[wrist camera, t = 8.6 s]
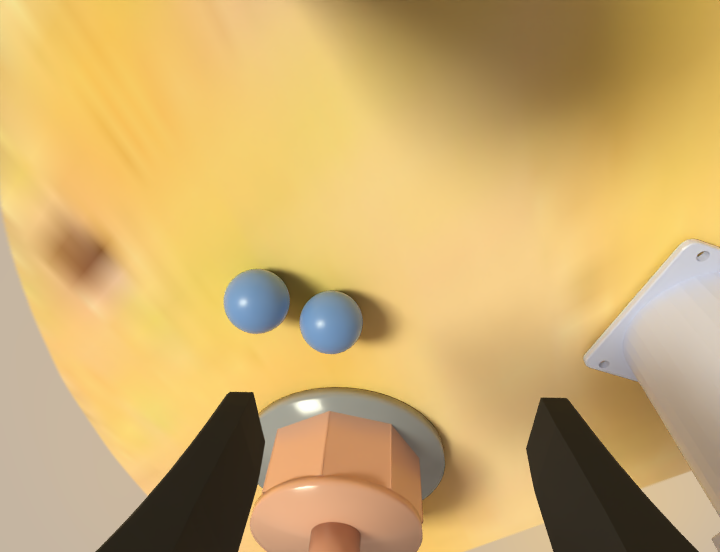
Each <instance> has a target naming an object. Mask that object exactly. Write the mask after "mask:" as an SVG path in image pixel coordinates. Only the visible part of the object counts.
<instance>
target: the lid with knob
mask: <svg viewBox="0 0 720 552" xmlns="http://www.w3.org/2000/svg"><path fill="white" fill-rule="evenodd" d="M422 523H423V510H422V494H421V478H420V462H419V457H418V456H417V455H416V454H415V452H414V451H413V450H412V449H411V448H410V446H409V445H408V444H407V443H406V442H405V440H404V439H403V438H402V437H401V435H400V434H399V433H398V432H397V431H396V429H395V428H394V427H393V426H392V424H389V423H384V422H380V421H375V420H370V419H365V418H361V417H356V416H351V415H346V414H342V413H337V412H332V411H328V412H325V413H322V414H319V415H316V416H314V417H311V418H308V419H305V420H302V421H299V422H296V423H294V424H291V425H288V426H285V427H282V428H279V429H277V433H276V437H275V442H274V446H273V450H272V454H271V458H270V463H269V465H268V469H267V474H266V478H265V482H264V486H263V490H262V494H261V496H260V497H259V498H258V500H257V501H256V503H255V505H254V508H253V511H252V515H251V520H250V529H251V532H252V535H253V537H254V538H255V540H256V541H257V543H258V544H259V545H260V546H261V547H262V548H263V549H265V550H266V551H267V552H417V550H418V549H419V547H420V545H421V542H422Z"/></svg>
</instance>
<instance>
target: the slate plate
mask: <svg viewBox="0 0 720 552" xmlns="http://www.w3.org/2000/svg"><path fill="white" fill-rule="evenodd" d="M328 411H332V412H337V413H342V414H346V415H351V416H356V417H361V418H365V419H370V420H375V421H380V422H384V423H389V424H392V426H393V427H394V428H395V429H396V431H397V432H398V433H399V434H400V435H401V437H402V438H403V439H404V440H405V442H406V443H407V444H408V445H409V446H410V448H411V449H412V450H413V451H414V452H415V454H416V455H417V456H418V457H419V462H420V478H421V494H422V500H424V499H425V498H426V497H427V496H429V495H430V494H431V493H432V492H433V491H434V490H435V489H436V487H437V486H438V484H439V483H440V481H441V479H442V476H443V474H444V468H445V459H444V450H443V444H442V441H441V438H440V436H439V434H438V432H437V430H436V429H435V428H434V426H433V425H432V424H431V422H430V421H429V420H427V419H426V418H425V417H424V416H423V415H422V414H421V413H419V412H418V411H417V410H415V409H414V408H412V407H410V406H409V405H407V404H405V403H403V402H401V401H399V400H396V399H394V398H392V397H389V396H386V395H383V394H380V393H376V392H372V391H367V390H362V389H354V388H338V387H331V388H318V389H311V390H305V391H301V392H297V393H294V394H291V395H288V396H286V397H283V398H281V399H279V400H277V401H275V402H273V403H271V404H270V405H269V406H267V407H266V408H264V409H263V410H262V411H261V412H260V413H259V418H260V422H261V426H262V431H263V435H264V439H265V447H264V453H263V459H262V464H261V470H260V475H259V481H258V484H259V485H260V487H262V488H263V486H264V482H265V478H266V474H267V469H268V465H269V463H270V458H271V454H272V450H273V446H274V442H275V437H276V433H277V429H279V428H282V427H285V426H288V425H291V424H294V423H296V422H299V421H302V420H305V419H308V418H311V417H314V416H316V415H319V414H322V413H325V412H328Z"/></svg>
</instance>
